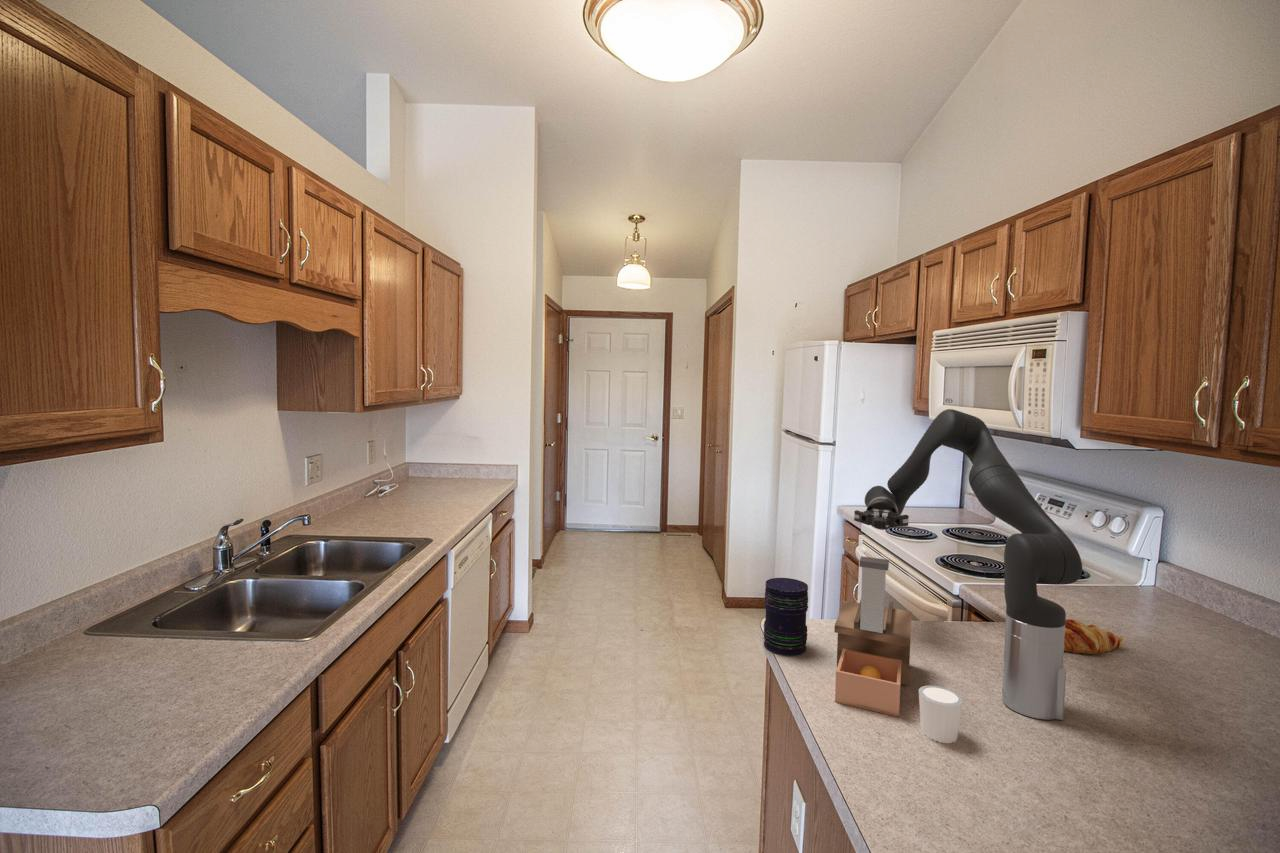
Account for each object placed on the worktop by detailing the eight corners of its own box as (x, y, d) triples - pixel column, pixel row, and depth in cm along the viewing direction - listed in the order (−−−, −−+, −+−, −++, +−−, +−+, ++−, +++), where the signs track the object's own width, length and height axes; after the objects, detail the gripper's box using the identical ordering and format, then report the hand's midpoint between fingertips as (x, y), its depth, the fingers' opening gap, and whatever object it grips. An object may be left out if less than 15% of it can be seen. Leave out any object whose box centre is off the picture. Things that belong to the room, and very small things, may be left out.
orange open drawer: (900, 689, 114) (901, 660, 114) (898, 717, 104) (900, 685, 104) (842, 676, 119) (843, 648, 119) (834, 701, 109) (835, 671, 109)
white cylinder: (967, 748, 95) (969, 707, 95) (923, 742, 96) (924, 702, 96) (953, 725, 102) (955, 687, 101) (912, 720, 103) (913, 682, 103)
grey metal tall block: (886, 627, 114) (889, 559, 113) (885, 634, 111) (888, 564, 110) (858, 623, 116) (861, 556, 116) (857, 629, 113) (859, 560, 112)
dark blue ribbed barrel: (759, 651, 130) (761, 587, 129) (766, 635, 139) (768, 575, 139) (804, 659, 126) (806, 593, 126) (808, 642, 136) (810, 580, 135)
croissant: (1111, 657, 138) (1101, 622, 141) (1145, 654, 129) (1133, 617, 132) (1025, 654, 138) (1016, 619, 141) (1053, 651, 129) (1043, 614, 132)
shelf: (909, 665, 125) (911, 604, 124) (908, 699, 110) (910, 631, 110) (842, 651, 131) (844, 594, 130) (832, 682, 116) (834, 618, 116)
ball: (880, 693, 112) (881, 680, 115) (880, 676, 111) (881, 663, 114) (858, 688, 114) (860, 676, 117) (858, 671, 113) (860, 659, 116)
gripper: (855, 495, 150) (849, 505, 135) (910, 500, 145) (911, 511, 129) (854, 523, 151) (848, 537, 135) (909, 529, 145) (910, 543, 129)
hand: (879, 524), depth 132 cm, fingers closed
